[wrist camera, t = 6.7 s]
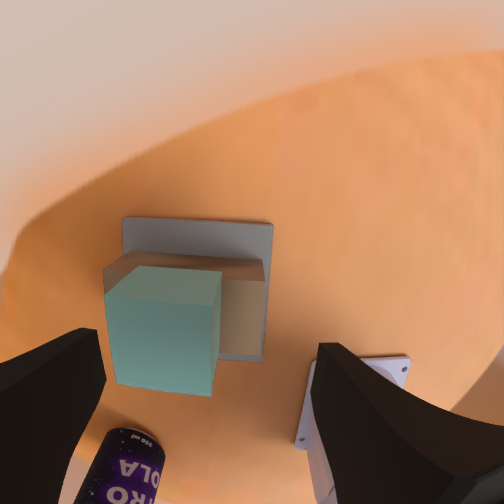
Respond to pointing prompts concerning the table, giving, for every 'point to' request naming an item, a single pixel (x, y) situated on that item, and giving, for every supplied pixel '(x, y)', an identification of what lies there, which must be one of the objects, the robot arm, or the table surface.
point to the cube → (165, 329)
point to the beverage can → (124, 469)
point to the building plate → (204, 247)
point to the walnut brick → (232, 292)
